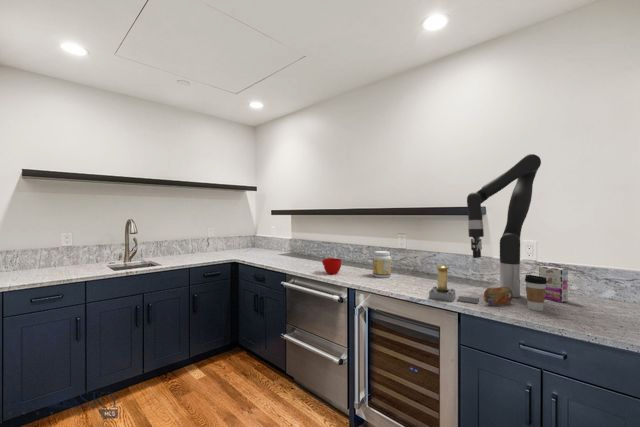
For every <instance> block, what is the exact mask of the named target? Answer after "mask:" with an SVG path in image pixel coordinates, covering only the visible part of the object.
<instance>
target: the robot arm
mask: <svg viewBox="0 0 640 427" xmlns="http://www.w3.org/2000/svg"><path fill="white" fill-rule="evenodd" d="M541 165H542V161H541V158H540V156H539V155H536V154H534V153H532V154H531V153H530V154H529V153H528V154H526V155H524V156H523V157H522V158H520V160H519V161H518V162H517V163H515V164H514V165H513V166H511V167H510V168H509V169H508V170H506V171H505V172H502V173H501V174H500V175H498V176H497V177H494V178H493V179H492V180H490V181H489V182H487V183H486V184H484V185H483V186H482V187H481V189H479V190H477V191H476V192H471V193H468V195H467V197H466V206H467V210H468V213H467V214H468V215H467V217H468V223H467V225H468V226H467V227H468V228H467V230H468V237H469V238H471V239H470V249H471V251H472V258H473V259H478V258H481V257H482V249H483V247H482V238H483V237H484V233H485V232H484V221H483V211H482V207H481V206H482V205H481V204H483V203H485V201H486V200H488V199H489V198H491V197H493V196H494V195H496V194H498V192H500V191H501V190H503V189H504V188H507V186H509V185H510V184H511V183H513V182H514V181H515V180H516V182H515V183H516V184H515V186H514V188H513V190H512V192H511V196H510V199H509V202H508V203H509V204H508V207H507V217H506V218H507V220H506V224H505V227H504V230H503V232H502V235H501V237H500V239H499V287H508V288H510V290H511V291H512V295H513V296H512V298H521V234H522V227H523V224H524V223H525V221H526V218H527V216H528V212H529V210H530V206H531V201H532V197H533V184H534V180H535V178H536V175H537V172H538V170H539V169H540V167H541Z"/></svg>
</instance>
